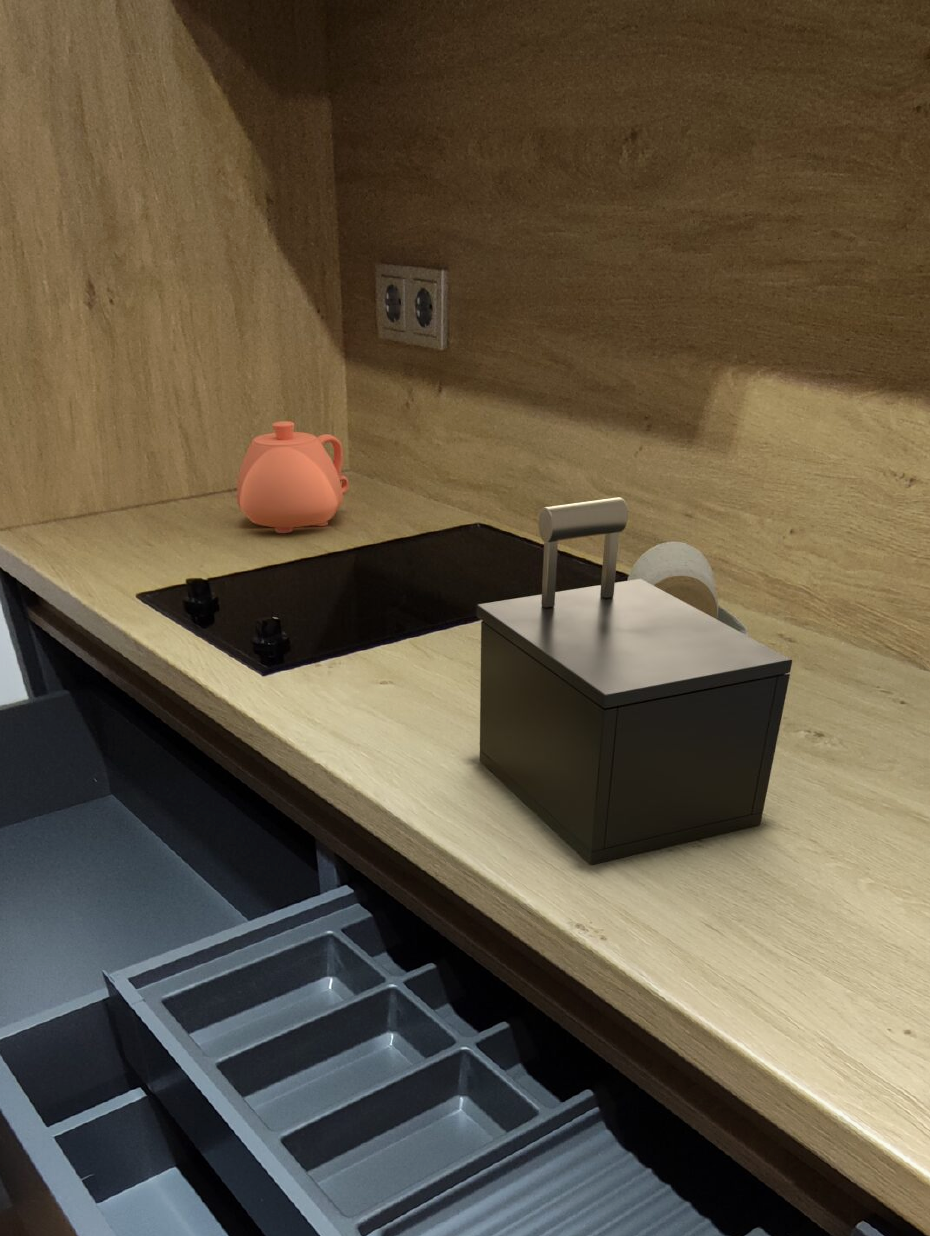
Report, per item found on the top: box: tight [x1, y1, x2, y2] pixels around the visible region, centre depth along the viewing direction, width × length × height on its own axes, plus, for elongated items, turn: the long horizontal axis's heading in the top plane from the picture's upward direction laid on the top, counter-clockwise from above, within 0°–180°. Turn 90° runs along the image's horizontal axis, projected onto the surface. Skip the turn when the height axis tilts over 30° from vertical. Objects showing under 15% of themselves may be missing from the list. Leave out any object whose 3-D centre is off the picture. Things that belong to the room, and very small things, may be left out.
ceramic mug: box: [626, 541, 750, 637], centre depth 95 cm, size 11×8×8 cm
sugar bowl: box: [236, 420, 350, 534], centre depth 128 cm, size 12×14×10 cm
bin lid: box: [476, 496, 793, 708], centre depth 69 cm, size 18×13×7 cm
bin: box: [479, 620, 791, 866], centre depth 74 cm, size 17×13×10 cm
